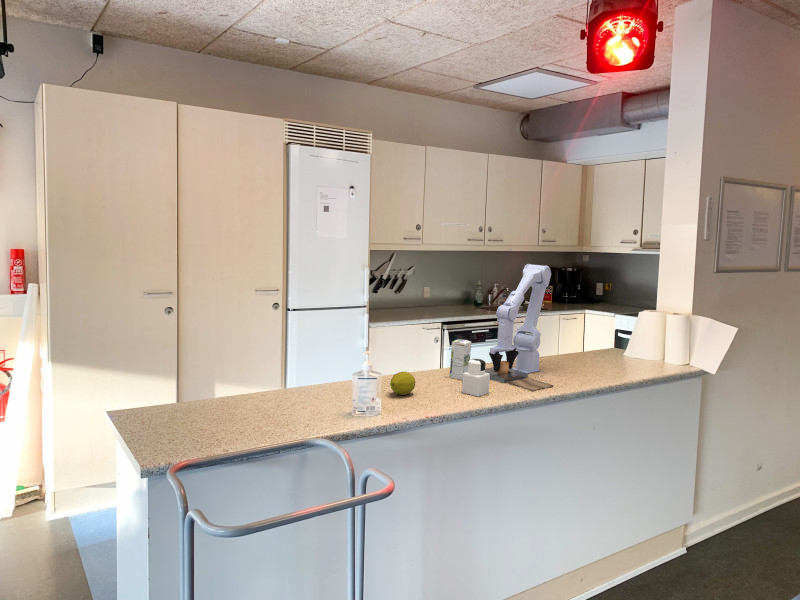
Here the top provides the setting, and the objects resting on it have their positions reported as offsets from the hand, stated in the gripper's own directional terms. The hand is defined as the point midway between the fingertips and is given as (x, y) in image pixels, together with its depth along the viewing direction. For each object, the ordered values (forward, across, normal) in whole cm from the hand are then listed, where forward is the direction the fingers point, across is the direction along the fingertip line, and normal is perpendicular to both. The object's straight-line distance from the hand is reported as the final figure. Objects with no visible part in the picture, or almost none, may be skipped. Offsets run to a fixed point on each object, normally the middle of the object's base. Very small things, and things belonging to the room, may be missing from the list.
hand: (502, 369), depth 240 cm
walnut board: (+3, 0, -14) cm, 14 cm away
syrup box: (+3, -16, +8) cm, 18 cm away
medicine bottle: (+3, -26, -10) cm, 28 cm away
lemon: (+3, -50, +2) cm, 50 cm away
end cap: (+3, 0, 0) cm, 3 cm away
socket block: (+3, 0, 0) cm, 3 cm away
